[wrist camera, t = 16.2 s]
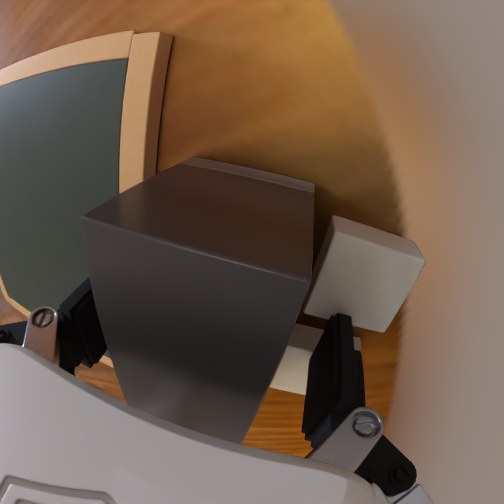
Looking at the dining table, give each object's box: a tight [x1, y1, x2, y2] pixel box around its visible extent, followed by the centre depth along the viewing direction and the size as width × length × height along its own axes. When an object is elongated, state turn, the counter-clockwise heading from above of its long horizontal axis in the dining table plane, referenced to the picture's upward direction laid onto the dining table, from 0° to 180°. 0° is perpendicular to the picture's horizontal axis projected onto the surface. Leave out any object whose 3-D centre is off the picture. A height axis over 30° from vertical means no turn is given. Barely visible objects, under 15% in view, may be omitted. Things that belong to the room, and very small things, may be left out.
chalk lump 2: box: [304, 215, 425, 333], centre depth 10 cm, size 4×4×2 cm
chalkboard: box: [0, 30, 173, 368], centre depth 13 cm, size 20×18×1 cm
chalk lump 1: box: [270, 323, 362, 395], centre depth 13 cm, size 4×4×2 cm
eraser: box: [81, 157, 315, 444], centre depth 10 cm, size 11×5×6 cm, turn 170°
